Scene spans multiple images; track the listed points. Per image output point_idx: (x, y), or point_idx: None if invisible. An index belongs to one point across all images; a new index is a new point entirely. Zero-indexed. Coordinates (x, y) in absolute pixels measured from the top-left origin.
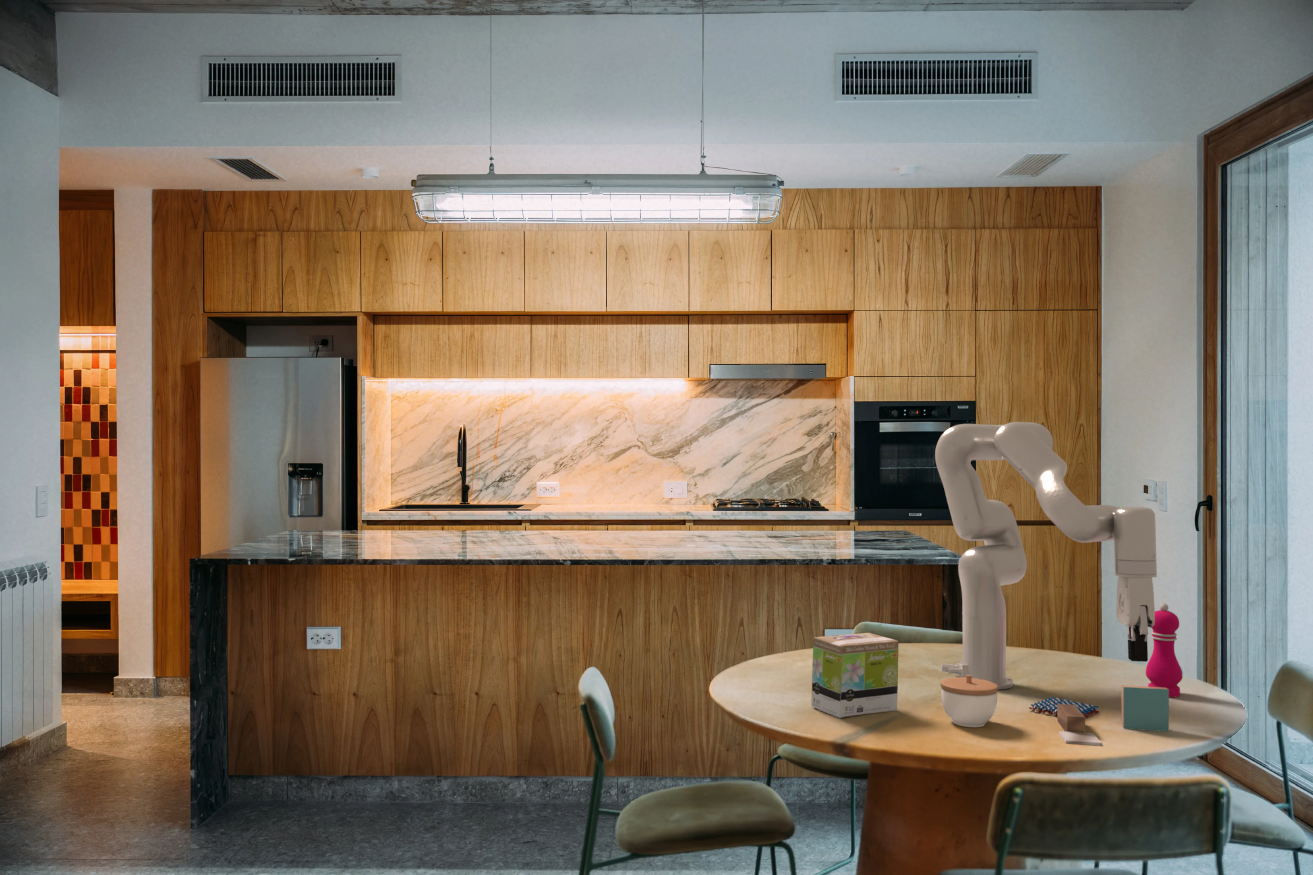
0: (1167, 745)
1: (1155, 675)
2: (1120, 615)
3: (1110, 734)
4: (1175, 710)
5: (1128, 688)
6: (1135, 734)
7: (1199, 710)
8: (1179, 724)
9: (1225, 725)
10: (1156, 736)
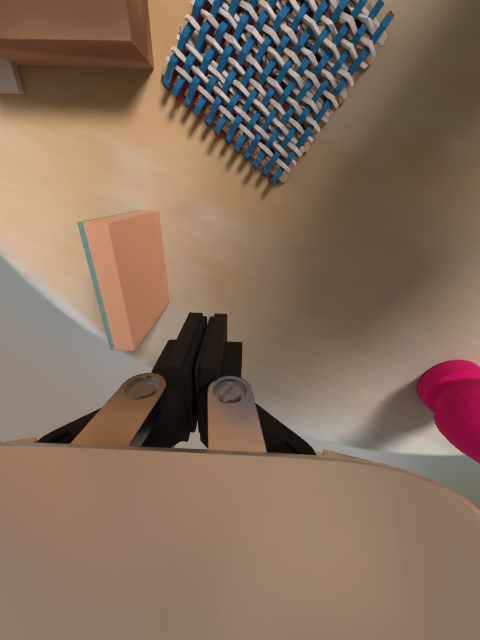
0: (40, 265)
1: (464, 395)
2: (174, 579)
3: (65, 155)
4: (315, 361)
5: (83, 238)
6: None
7: (318, 396)
8: None
9: None
10: None
